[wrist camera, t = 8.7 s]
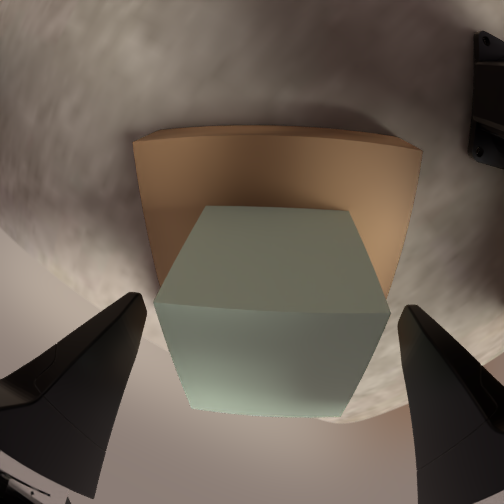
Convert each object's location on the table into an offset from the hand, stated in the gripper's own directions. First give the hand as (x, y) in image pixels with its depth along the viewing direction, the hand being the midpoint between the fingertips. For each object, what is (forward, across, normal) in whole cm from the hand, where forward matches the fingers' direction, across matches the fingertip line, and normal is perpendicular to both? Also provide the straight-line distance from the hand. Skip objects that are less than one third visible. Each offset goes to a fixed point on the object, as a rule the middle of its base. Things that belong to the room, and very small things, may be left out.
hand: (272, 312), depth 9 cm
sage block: (+2, 0, 0) cm, 2 cm away
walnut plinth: (+5, 0, 0) cm, 5 cm away
